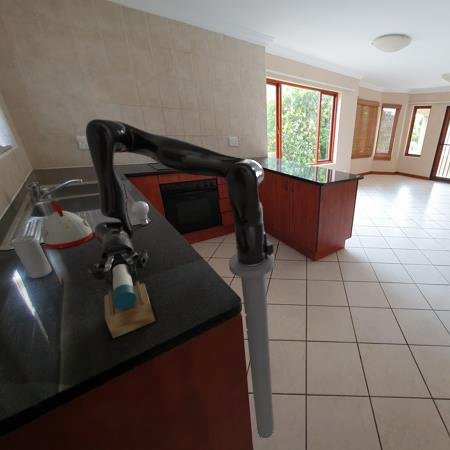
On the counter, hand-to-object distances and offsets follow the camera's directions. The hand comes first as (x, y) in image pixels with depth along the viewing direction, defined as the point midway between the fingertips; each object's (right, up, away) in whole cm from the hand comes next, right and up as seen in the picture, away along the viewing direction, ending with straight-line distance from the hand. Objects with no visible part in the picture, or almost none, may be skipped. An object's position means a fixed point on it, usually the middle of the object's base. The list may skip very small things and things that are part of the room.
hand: (121, 278), depth 57 cm
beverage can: (-35, -2, +14) cm, 38 cm away
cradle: (+3, -9, -1) cm, 10 cm away
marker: (+2, -1, -2) cm, 3 cm away
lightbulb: (-27, +13, +50) cm, 58 cm away
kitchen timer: (-47, +7, +35) cm, 59 cm away
